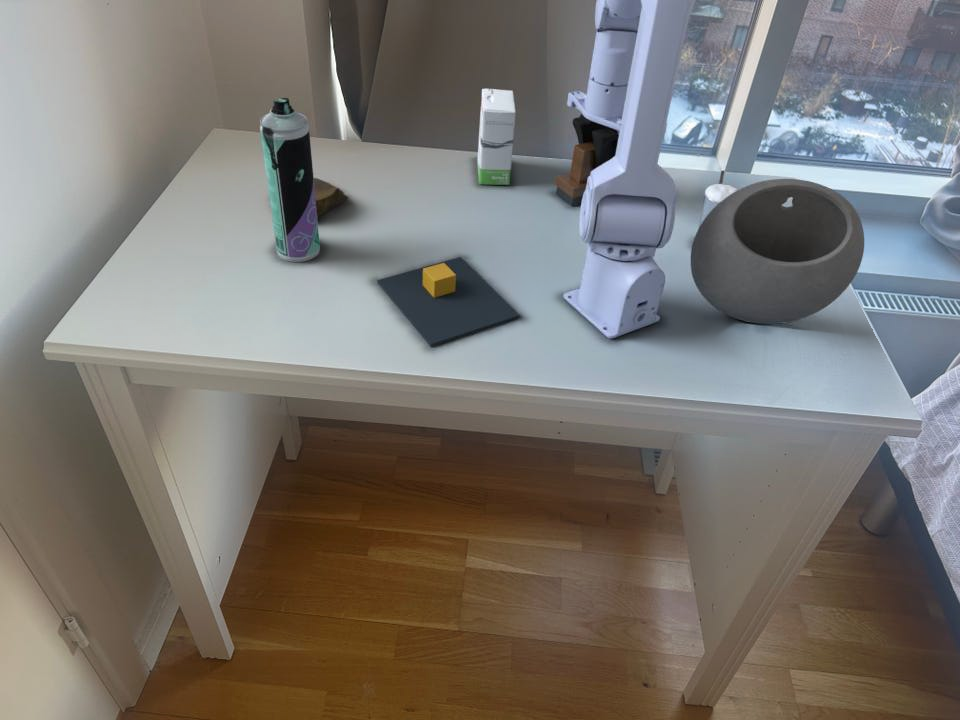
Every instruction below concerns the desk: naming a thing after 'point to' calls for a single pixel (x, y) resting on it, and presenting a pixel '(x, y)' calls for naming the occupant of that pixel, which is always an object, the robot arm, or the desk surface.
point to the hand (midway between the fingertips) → (594, 170)
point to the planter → (777, 251)
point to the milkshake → (715, 196)
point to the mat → (448, 303)
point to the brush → (576, 174)
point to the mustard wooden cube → (439, 280)
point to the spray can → (290, 182)
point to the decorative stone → (327, 196)
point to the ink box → (496, 136)
